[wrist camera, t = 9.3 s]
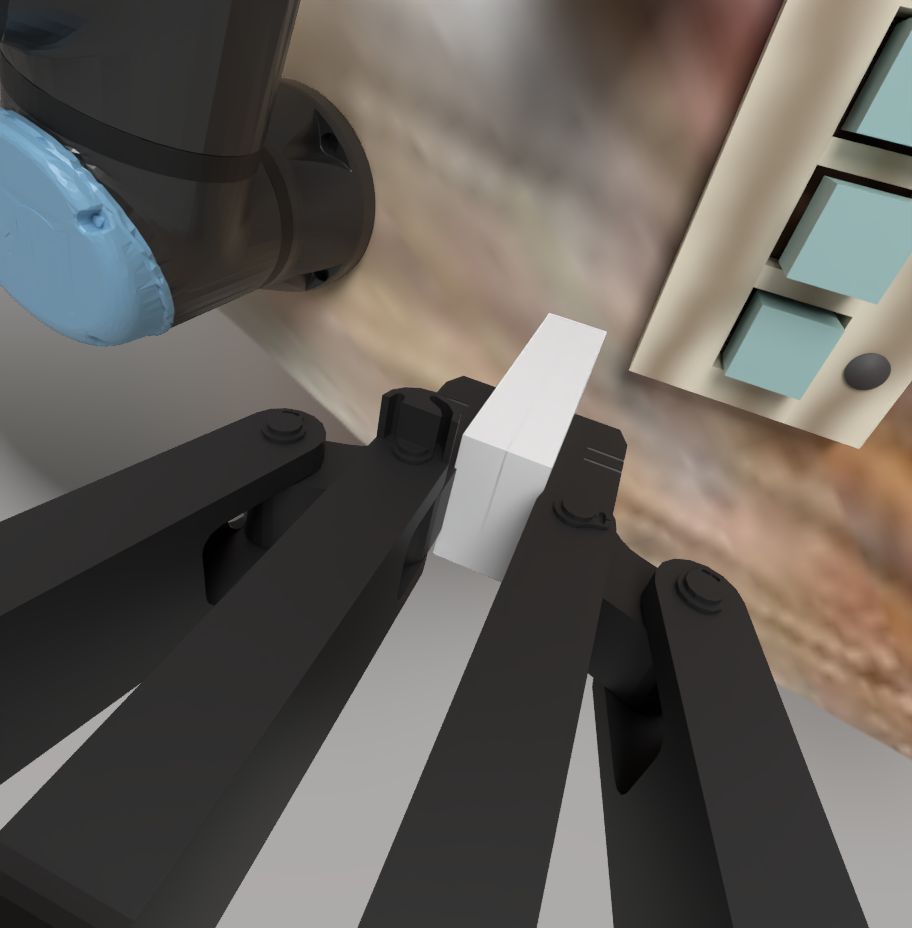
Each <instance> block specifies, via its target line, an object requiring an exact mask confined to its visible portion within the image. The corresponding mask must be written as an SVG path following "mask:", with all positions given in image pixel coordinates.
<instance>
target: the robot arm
mask: <svg viewBox="0 0 912 928" xmlns="http://www.w3.org/2000/svg"><path fill="white" fill-rule="evenodd" d="M300 1H301V0H0V285H1V286H2V287H3V288H4V289H5V291H6V292H7V293H8V294H9V295H10V296H11V297H12V298H13V299H14V300H15V301H16V302H18V303H19V304H20V305H21V306H22V307H23V308H24V309H25V310H27V311H28V312H29V313H30V314H31V315H33V316H34V317H35V318H37V319H38V320H39V321H41V322H42V323H44V324H45V325H47V326H48V327H50V328H52V329H53V330H55V331H56V332H58V333H60V334H62V335H64V336H66V337H68V338H71V339H73V340H76V341H78V342H81V343H85V344H89V345H95V346H116V345H121V344H124V343H127V342H130V341H133V340H136V339H139V338H142V337H145V336H152V335H161V334H162V333H165V332H166V331H168V330H169V328H172V327H174V326H176V325H178V324H181V323H183V322H185V321H187V320H190V319H192V318H194V317H196V316H198V315H201V314H203V313H205V312H207V311H210V310H212V309H214V308H216V307H219V306H221V305H223V304H225V303H228V302H230V301H232V300H234V299H237V298H239V297H241V296H243V295H246V294H248V293H250V292H252V291H254V290H257V289H268V290H279V291H291V292H302V291H309V290H314V289H317V288H320V287H323V286H325V285H327V284H329V283H331V282H333V281H335V280H337V279H339V278H341V277H342V276H344V275H345V274H347V273H348V272H349V271H350V270H351V269H352V268H353V267H354V266H355V265H356V264H357V262H358V261H359V260H360V258H361V257H362V255H363V253H364V251H365V249H366V247H367V245H368V242H369V239H370V236H371V233H372V229H373V223H374V216H375V193H374V184H373V178H372V174H371V170H370V166H369V163H368V160H367V157H366V154H365V152H364V149H363V147H362V145H361V143H360V141H359V139H358V137H357V135H356V133H355V131H354V130H353V128H352V127H351V125H350V124H349V122H348V121H347V119H346V118H345V117H344V116H343V114H342V113H341V112H340V111H339V110H338V109H337V108H336V107H335V106H334V105H333V104H332V103H331V102H330V101H329V100H328V99H327V98H326V97H324V96H323V95H322V94H320V93H319V92H317V91H316V90H314V89H312V88H311V87H309V86H307V85H305V84H302V83H300V82H297V81H294V80H290V79H284V78H281V75H282V72H283V68H284V64H285V60H286V56H287V52H288V48H289V44H290V40H291V36H292V32H293V28H294V24H295V20H296V16H297V12H298V8H299V4H300ZM606 333H607V332H606V331H603V330H600V329H597V328H594V327H591V326H588V325H585V324H582V323H579V322H576V321H573V320H570V319H567V318H564V317H561V316H557V315H554V314H551V313H549V314H548V316H547V317H546V318H545V320H544V321H543V323H542V324H541V325H540V327H539V328H538V330H537V331H536V332H535V334H534V335H533V337H532V338H531V339H530V341H529V342H528V344H527V345H526V346H525V348H524V349H523V351H522V352H521V353H520V355H519V356H518V358H517V359H516V360H515V362H514V363H513V365H512V366H511V367H510V369H509V370H508V372H507V373H506V375H505V376H504V377H503V379H502V380H501V382H500V383H499V384H498V386H497V387H493V386H490V385H488V384H485V383H482V382H479V381H476V380H474V379H471V378H468V377H465V376H462V377H459V378H456V379H453V380H451V381H448V382H446V383H445V384H444V385H443V386H442V387H441V388H440V390H439V391H438V392H437V393H436V392H433V391H429V390H425V389H422V388H407V387H405V388H399V389H393V390H391V391H389V392H387V393H385V394H383V395H382V402H381V409H380V416H379V423H378V430H377V437H376V438H375V439H374V440H373V441H372V442H371V443H370V444H369V445H368V446H357V445H348V444H342V443H335V442H330V441H325V439H326V431H325V429H324V427H323V424H322V423H321V422H320V421H319V420H318V419H316V418H315V417H314V416H312V415H310V414H307V413H305V412H302V411H298V410H293V409H286V408H283V409H268V410H265V411H261V412H257V413H255V414H252V415H250V416H248V417H245V418H243V419H241V420H238V421H236V422H234V423H231V424H229V425H227V426H224V427H222V428H220V429H217V430H215V431H212V432H210V433H208V434H205V435H203V436H201V437H198V438H196V439H194V440H191V441H189V442H187V443H184V444H182V445H180V446H177V447H175V448H172V449H170V450H168V451H166V452H163V453H161V454H158V455H156V456H154V457H151V458H149V459H147V460H144V461H142V462H140V463H137V464H135V465H133V466H131V467H128V468H125V469H123V470H121V471H118V472H116V473H114V474H111V475H110V476H107V477H104V478H102V479H100V480H97V481H95V482H93V483H90V484H88V485H86V486H83V487H81V488H79V489H76V490H74V491H71V492H69V493H67V494H64V495H62V496H60V497H57V498H55V499H53V500H50V501H49V502H46V503H44V504H41V505H39V506H36V507H34V508H32V509H29V510H27V511H24V512H22V513H20V514H17V515H15V516H13V517H11V518H8V519H6V520H3V521H1V522H0V784H2V783H3V782H5V781H6V780H7V779H9V778H10V777H12V776H13V775H14V774H16V773H17V772H19V771H20V770H21V769H23V768H24V767H25V766H27V765H28V764H29V763H31V762H32V761H34V760H35V759H36V758H38V757H39V756H40V755H42V754H43V753H45V752H46V751H48V750H49V749H50V748H52V747H53V746H54V745H56V744H57V743H59V742H60V741H61V740H62V739H64V738H65V737H67V736H68V735H70V734H71V733H72V732H74V731H75V730H77V729H78V728H79V727H80V726H82V725H83V724H85V723H86V722H88V721H89V720H90V719H92V718H93V717H95V716H96V715H97V714H99V713H100V712H101V711H103V710H104V709H106V708H107V707H108V706H110V705H111V704H112V703H114V702H115V701H117V700H118V699H119V698H121V697H122V696H124V695H125V694H126V693H127V692H129V691H130V690H132V689H133V688H134V687H136V686H137V685H139V684H140V683H141V682H142V683H141V684H140V685H139V686H138V687H137V688H136V689H135V690H134V691H133V692H132V693H131V694H130V695H129V696H128V697H127V699H126V700H125V701H124V702H123V703H122V704H121V705H120V706H119V707H118V708H117V709H116V710H115V711H114V712H113V713H112V714H111V715H110V717H109V718H108V719H107V720H105V722H104V723H103V724H102V725H101V726H100V727H99V728H98V729H97V730H96V731H95V732H94V733H93V734H92V735H91V736H90V737H89V738H88V739H87V740H86V742H85V743H83V745H82V746H81V747H80V748H79V749H78V750H77V751H76V752H75V753H74V754H73V755H72V756H71V757H70V758H69V759H68V760H67V761H66V762H65V764H63V765H62V767H61V768H60V769H59V770H58V771H57V772H56V773H55V774H54V775H53V776H52V777H51V778H50V779H49V780H48V781H47V782H46V783H45V784H44V785H43V787H42V788H40V790H39V791H38V792H37V793H36V794H35V795H34V796H33V797H32V798H31V799H30V800H29V801H28V802H27V803H26V804H25V805H24V806H23V807H22V808H21V809H20V810H19V812H18V813H17V814H16V815H15V816H14V817H13V818H12V819H11V820H10V821H9V822H8V823H7V824H6V825H5V826H4V827H3V828H2V829H1V830H0V928H215V927H216V925H217V924H218V922H219V920H220V919H221V917H222V915H223V913H224V912H225V910H226V908H227V907H228V905H229V903H230V901H231V899H232V898H233V896H234V895H235V893H236V891H237V890H238V888H239V886H240V884H241V883H242V881H243V879H244V878H245V876H246V874H247V872H248V871H249V869H250V867H251V866H252V864H253V862H254V860H255V859H256V857H257V855H258V854H259V852H260V850H261V848H262V847H263V845H264V843H265V842H266V840H267V838H268V836H269V835H270V833H271V831H272V830H273V828H274V826H275V824H276V822H277V821H278V819H279V818H280V816H281V814H282V812H283V811H284V809H285V807H286V806H287V804H288V802H289V800H290V799H291V797H292V795H293V794H294V792H295V790H296V788H297V787H298V785H299V783H300V782H301V780H302V778H303V776H304V775H305V773H306V771H307V770H308V768H309V766H310V764H311V763H312V761H313V759H314V758H315V756H316V754H317V752H318V751H319V749H320V747H321V746H322V744H323V742H324V741H325V739H326V737H327V735H328V734H329V732H330V730H331V728H332V727H333V725H334V723H335V722H336V720H337V718H338V717H339V714H340V713H341V711H342V709H343V708H344V706H345V704H346V703H347V701H348V699H349V698H350V696H351V694H352V693H353V691H354V689H355V687H356V686H357V684H358V682H359V680H360V679H361V677H362V675H363V674H364V672H365V670H366V669H367V667H368V665H369V663H370V662H371V660H372V658H373V657H374V655H375V653H376V651H377V650H378V648H379V646H380V645H381V643H382V641H383V639H384V638H385V636H386V634H387V633H388V631H389V629H390V627H391V626H392V624H393V622H394V621H395V619H396V617H397V615H398V614H399V612H400V610H401V609H402V607H403V605H404V604H405V602H406V600H407V598H408V597H409V595H410V593H411V591H412V590H413V588H414V586H415V585H416V583H417V581H418V579H419V578H420V576H421V574H422V572H423V569H424V565H425V561H426V557H427V553H428V551H429V549H430V548H431V546H432V545H433V543H434V541H435V540H436V538H437V540H436V544H435V548H434V551H433V554H436V555H438V556H440V557H443V558H445V559H448V560H450V561H452V562H455V563H457V564H459V565H462V566H464V567H467V568H469V569H471V570H474V571H476V572H479V573H481V574H483V575H486V576H488V577H491V578H493V579H495V580H498V581H500V582H502V583H501V585H500V588H499V590H498V593H497V595H496V597H495V600H494V602H493V604H492V607H491V609H490V612H489V614H488V616H487V619H486V621H485V624H484V626H483V628H482V631H481V633H480V636H479V638H478V640H477V643H476V645H475V648H474V650H473V652H472V655H471V657H470V659H469V662H468V664H467V667H466V669H465V671H464V674H463V676H462V679H461V681H460V684H459V686H458V688H457V691H456V693H455V695H454V698H453V700H452V703H451V705H450V707H449V710H448V712H447V715H446V717H445V720H444V722H443V724H442V727H441V729H440V732H439V734H438V736H437V739H436V741H435V743H434V746H433V748H432V751H431V753H430V755H429V758H428V760H427V763H426V765H425V767H424V770H423V772H422V775H421V777H420V780H419V782H418V784H417V787H416V789H415V791H414V794H413V796H412V799H411V801H410V803H409V806H408V809H407V811H406V813H405V815H404V818H403V820H402V823H401V825H400V827H399V830H398V832H397V835H396V837H395V839H394V842H393V844H392V847H391V849H390V851H389V854H388V856H387V858H386V861H385V863H384V866H383V868H382V870H381V873H380V875H379V878H378V880H377V883H376V885H375V887H374V890H373V892H372V895H371V897H370V899H369V902H368V904H367V906H366V909H365V911H364V914H363V916H362V918H361V921H360V923H359V926H358V928H537V923H538V918H539V912H540V908H541V903H542V898H543V893H544V888H545V883H546V878H547V872H548V868H549V863H550V858H551V853H552V848H553V843H554V838H555V833H556V828H557V823H558V818H559V812H560V808H561V803H562V798H563V793H564V788H565V783H566V778H567V773H568V768H569V763H570V758H571V753H572V748H573V743H574V738H575V733H576V728H577V723H578V718H579V713H580V709H581V704H582V698H583V693H584V688H585V684H586V679H587V674H588V673H589V674H590V675H591V676H592V677H593V678H594V679H593V686H592V688H593V699H594V711H595V721H596V732H597V744H598V755H599V767H600V778H601V789H602V800H603V811H604V823H605V834H606V845H607V856H608V867H609V879H610V889H611V901H612V912H613V924H614V928H869V927H868V924H867V921H866V919H865V916H864V914H863V911H862V908H861V906H860V903H859V901H858V898H857V895H856V893H855V890H854V887H853V885H852V883H851V880H850V877H849V874H848V872H847V869H846V867H845V864H844V861H843V859H842V856H841V854H840V851H839V848H838V846H837V843H836V841H835V838H834V835H833V833H832V830H831V827H830V825H829V822H828V820H827V817H826V814H825V812H824V809H823V807H822V804H821V802H820V799H819V796H818V794H817V791H816V789H815V786H814V783H813V780H812V778H811V775H810V773H809V770H808V767H807V765H806V762H805V760H804V757H803V754H802V752H801V749H800V747H799V744H798V741H797V739H796V736H795V734H794V731H793V728H792V726H791V723H790V720H789V718H788V715H787V713H786V710H785V708H784V705H783V702H782V700H781V697H780V695H779V692H778V689H777V686H776V684H775V681H774V679H773V676H772V673H771V671H770V668H769V666H768V663H767V660H766V658H765V655H764V653H763V650H762V647H761V645H760V642H759V639H758V637H757V634H756V632H755V629H754V626H753V624H752V621H751V619H750V616H749V613H748V611H747V608H746V606H745V603H744V601H743V600H742V598H741V596H740V595H739V593H738V591H737V590H736V589H735V588H734V587H733V586H732V585H731V584H730V583H729V582H728V581H727V580H726V579H725V578H724V577H723V576H722V575H720V574H718V573H717V572H715V571H714V570H712V569H710V568H709V567H707V566H705V565H702V564H699V563H696V562H694V561H691V560H683V559H672V560H669V561H665V562H662V564H661V565H660V566H659V567H658V568H657V567H655V566H654V565H652V564H651V563H649V562H648V561H646V560H644V559H643V558H641V557H640V556H639V555H637V554H636V553H635V552H633V551H632V550H631V549H630V548H629V547H628V546H627V545H626V544H625V543H624V542H623V541H622V540H621V539H620V537H619V536H618V534H617V532H616V521H615V518H614V516H613V511H614V506H615V501H616V496H617V492H618V487H619V482H620V477H621V472H622V468H623V463H624V462H623V461H624V459H625V454H626V449H627V444H626V442H625V439H624V437H623V435H622V433H621V431H620V430H619V429H616V428H613V427H610V426H608V425H605V424H602V423H599V422H596V421H594V420H591V419H588V418H585V417H582V416H580V415H577V414H576V412H577V409H578V406H579V404H580V401H581V399H582V396H583V393H584V391H585V388H586V385H587V383H588V380H589V378H590V375H591V372H592V370H593V367H594V365H595V362H596V359H597V357H598V354H599V351H600V349H601V346H602V344H603V341H604V338H605V336H606ZM242 513H244V516H243V517H241V518H239V519H238V520H236V521H233V522H230V523H228V521H230V520H232V519H233V518H235V517H237V516H238V515H240V514H242Z"/></svg>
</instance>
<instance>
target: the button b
mask: <svg viewBox="0 0 912 928" xmlns="http://www.w3.org/2000/svg"><path fill="white" fill-rule="evenodd" d="M911 253H912V199H910V198H907V197H903V196H899V195H895V194H892V193H888V192H884V191H880V190H877V189H873V188H869V187H865V186H862V185H858V184H854V183H850V182H847V181H843V180H839V179H835V178H832V177H828V176H824V177H823V179H822V180H821V182H820V184H819V186H818V188H817V190H816V192H815V194H814V195H813V197H812V199H811V201H810V203H809V205H808V207H807V209H806V210H805V212H804V214H803V216H802V218H801V220H800V222H799V224H798V225H797V227H796V229H795V231H794V233H793V235H792V237H791V239H790V240H789V242H788V244H787V246H786V248H785V250H784V252H783V254H782V255H781V257H780V259H779V261H778V262H779V264H780V266H781V268H782V270H783V272H784V274H785V276H786V278H790V279H793V280H796V281H800V282H803V283H806V284H810V285H813V286H816V287H820V288H823V289H827V290H830V291H833V292H837V293H840V294H843V295H847V296H850V297H853V298H857V299H860V300H863V301H867V302H870V303H873V304H878V303H879V301H880V300H881V298H882V297H883V295H884V294H885V292H886V291H887V289H888V288H889V286H890V285H891V283H892V282H893V280H894V279H895V277H896V276H897V274H898V273H899V271H900V270H901V268H902V267H903V265H904V264H905V262H906V261H907V259H908V258H909V256H910V255H911Z"/></svg>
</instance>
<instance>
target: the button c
mask: <svg viewBox="0 0 912 928" xmlns="http://www.w3.org/2000/svg"><path fill="white" fill-rule="evenodd" d="M841 130H845V131H849V132H853V133H857V134H861V135H865V136H869V137H873V138H877V139H881V140H885V141H889V142H892V143H896V144H900V145H904V146H908V147H912V18H909V19H907V20H904V21H902V22H899V23H897V24H896V25H895V27H894V29H893V31H892V33H891V35H890V37H889V39H888V41H887V42H886V44H885V46H884V48H883V50H882V52H881V54H880V56H879V58H878V60H877V61H876V63H875V65H874V67H873V69H872V71H871V73H870V75H869V77H868V79H867V80H866V82H865V84H864V86H863V88H862V90H861V92H860V94H859V96H858V98H857V99H856V101H855V103H854V105H853V107H852V109H851V111H850V113H849V115H848V117H847V118H846V120H845V122H844V124H843V126H842V128H841Z"/></svg>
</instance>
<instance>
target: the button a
mask: <svg viewBox="0 0 912 928" xmlns="http://www.w3.org/2000/svg"><path fill="white" fill-rule="evenodd" d="M844 332H845V330H844V328H843V326H842V325H841V323H840V322H839V320H838V319H837V317H836V315H835V314H834V312H833V311H831V310H827V309H824V308H821V307H817V306H814V305H811V304H808V303H804V302H801V301H798V300H794V299H791V298H788V297H785V296H781V295H778V294H775V293H771V292H768V291H765V290H762V289H758V288H757V289H756V291H755V293H754V295H753V297H752V299H751V301H750V303H749V305H748V307H747V308H746V310H745V312H744V314H743V316H742V318H741V320H740V322H739V324H738V326H737V327H736V329H735V331H734V333H733V335H732V337H731V339H730V341H729V343H728V345H727V346H726V348H725V350H724V352H723V363H724V375H725V376H728V377H731V378H734V379H737V380H740V381H743V382H746V383H749V384H752V385H755V386H758V387H761V388H764V389H767V390H770V391H773V392H776V393H779V394H782V395H785V396H788V397H791V398H794V399H797V400H800V399H801V398H802V396H803V395H804V393H805V392H806V390H807V389H808V387H809V385H810V384H811V382H812V381H813V379H814V378H815V376H816V375H817V373H818V372H819V370H820V369H821V367H822V365H823V364H824V362H825V361H826V359H827V358H828V356H829V355H830V353H831V352H832V350H833V349H834V347H835V345H836V344H837V342H838V341H839V339H840V338H841V336H842V335H843V333H844Z"/></svg>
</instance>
